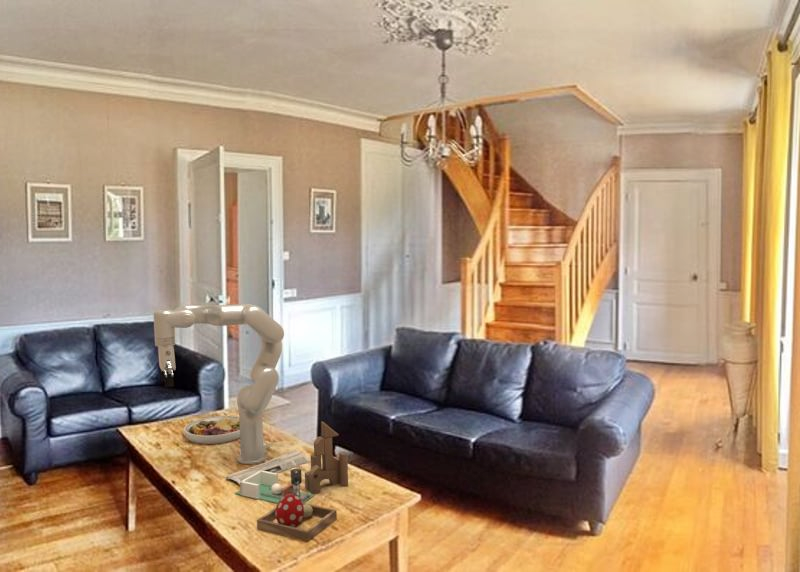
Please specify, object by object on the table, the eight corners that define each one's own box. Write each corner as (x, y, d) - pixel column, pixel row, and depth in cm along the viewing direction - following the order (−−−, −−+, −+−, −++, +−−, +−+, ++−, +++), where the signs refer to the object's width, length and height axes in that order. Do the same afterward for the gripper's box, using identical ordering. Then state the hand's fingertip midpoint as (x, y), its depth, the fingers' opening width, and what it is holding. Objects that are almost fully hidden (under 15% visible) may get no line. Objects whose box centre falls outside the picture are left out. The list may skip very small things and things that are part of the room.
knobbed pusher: (290, 492, 232) (289, 466, 231) (309, 496, 229) (308, 469, 228) (281, 498, 227) (280, 471, 226) (300, 502, 224) (299, 475, 223)
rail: (270, 488, 237) (270, 486, 236) (310, 497, 229) (310, 495, 228) (260, 495, 231) (260, 493, 231) (301, 504, 223) (301, 501, 223)
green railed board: (254, 482, 243) (254, 481, 243) (314, 495, 231) (314, 494, 231) (235, 494, 233) (234, 492, 233) (297, 508, 221) (297, 507, 221)
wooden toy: (311, 495, 232) (309, 429, 229) (304, 488, 237) (302, 424, 235) (349, 485, 239) (348, 421, 237) (342, 479, 245) (340, 417, 243)
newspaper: (240, 489, 240) (240, 480, 239) (222, 481, 248) (222, 472, 248) (312, 462, 266) (312, 454, 265) (294, 456, 274) (293, 448, 274)
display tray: (288, 507, 221) (288, 499, 221) (336, 518, 213) (336, 510, 212) (257, 528, 206) (256, 520, 206) (307, 541, 197) (307, 532, 197)
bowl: (185, 429, 310) (184, 413, 309) (247, 422, 319) (246, 407, 318) (183, 449, 282) (182, 432, 281) (251, 442, 290) (251, 425, 290)
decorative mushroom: (311, 486, 218) (282, 486, 206) (328, 511, 212) (300, 513, 200) (292, 510, 220) (263, 511, 207) (309, 535, 213) (279, 538, 201)
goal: (261, 482, 242) (260, 470, 242) (278, 486, 239) (277, 473, 238) (240, 494, 232) (239, 481, 231) (257, 498, 228) (257, 485, 228)
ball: (275, 491, 234) (275, 480, 234) (284, 493, 233) (284, 482, 232) (269, 495, 231) (268, 485, 230) (277, 497, 229) (277, 486, 229)
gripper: (179, 343, 241) (181, 387, 243) (171, 337, 256) (173, 378, 258) (158, 345, 238) (160, 390, 239) (151, 339, 253) (154, 380, 254)
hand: (167, 384), depth 249 cm, fingers open, 9 cm apart
